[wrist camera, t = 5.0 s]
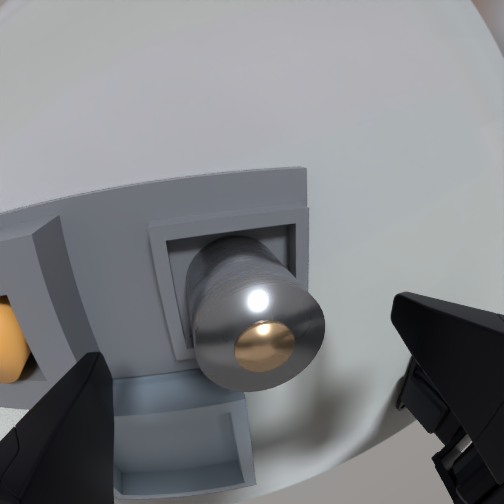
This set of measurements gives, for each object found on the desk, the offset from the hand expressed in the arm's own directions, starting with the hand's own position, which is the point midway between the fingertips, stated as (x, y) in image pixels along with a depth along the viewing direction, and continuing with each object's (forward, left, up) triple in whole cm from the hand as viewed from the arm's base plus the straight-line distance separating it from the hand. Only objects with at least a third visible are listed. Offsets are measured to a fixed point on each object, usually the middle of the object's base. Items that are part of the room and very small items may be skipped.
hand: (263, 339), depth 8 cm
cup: (+5, +9, -4) cm, 11 cm away
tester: (+5, 0, -4) cm, 7 cm away
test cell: (0, 0, -4) cm, 4 cm away
